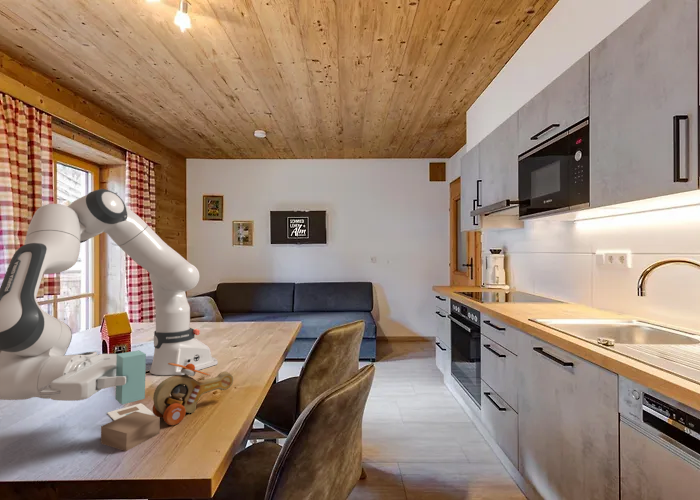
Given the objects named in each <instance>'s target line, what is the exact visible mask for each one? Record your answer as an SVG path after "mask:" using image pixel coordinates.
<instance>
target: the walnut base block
mask: <svg viewBox="0 0 700 500" xmlns="http://www.w3.org/2000/svg"><path fill="white" fill-rule="evenodd" d="M160 427H161V419H160V417H157V416H152V415H148V414H144V413H140V412H136V411H135V412H133V413H131V414H128V415H126V416H124V417H121V418H119V419H117V420H112V421H110V422H107V423H105V424H103V425H101V426H100V444H101V445H105V446H107V447H111V448H114V449H118V450H121V451H124V452H128V451H130V450H131V449H133V448H136V447H138V446H139V445H141V444H143V443H145V442H146V441H149V440H150V439H153V438H154V437H156V436H158V435H160V431H161V430H160V429H161V428H160Z"/></svg>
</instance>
